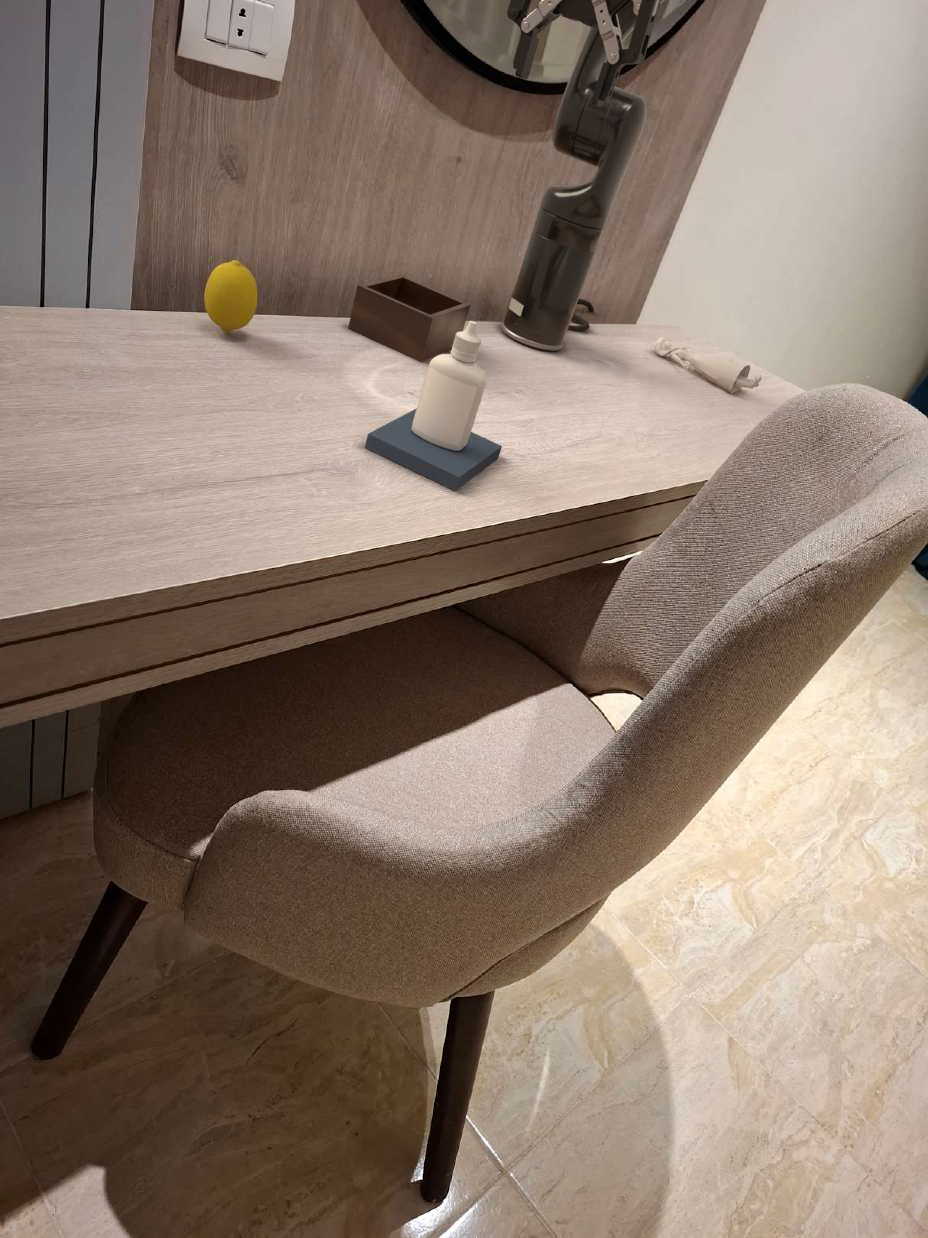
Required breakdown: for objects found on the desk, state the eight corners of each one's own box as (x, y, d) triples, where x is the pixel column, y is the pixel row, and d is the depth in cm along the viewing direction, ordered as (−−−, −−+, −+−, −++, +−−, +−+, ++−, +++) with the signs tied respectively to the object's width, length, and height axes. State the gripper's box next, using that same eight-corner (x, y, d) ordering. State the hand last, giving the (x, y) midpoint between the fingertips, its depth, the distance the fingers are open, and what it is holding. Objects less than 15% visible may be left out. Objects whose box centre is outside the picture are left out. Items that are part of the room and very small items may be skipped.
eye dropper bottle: (439, 455, 87) (475, 334, 80) (404, 427, 90) (436, 309, 83) (471, 451, 90) (509, 335, 83) (436, 424, 92) (470, 310, 86)
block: (414, 419, 96) (418, 406, 95) (497, 458, 94) (502, 445, 93) (364, 447, 87) (368, 433, 86) (455, 491, 85) (459, 477, 84)
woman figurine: (750, 375, 134) (644, 333, 141) (738, 403, 136) (634, 360, 143) (774, 366, 142) (673, 327, 149) (762, 393, 145) (664, 353, 152)
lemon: (192, 331, 98) (201, 256, 93) (212, 318, 102) (221, 246, 98) (241, 348, 98) (252, 274, 93) (258, 334, 102) (270, 263, 98)
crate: (390, 314, 122) (400, 274, 119) (458, 345, 120) (470, 304, 117) (347, 328, 113) (357, 284, 110) (420, 361, 111) (432, 318, 108)
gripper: (696, -73, 85) (630, 116, 94) (561, -117, 87) (509, 70, 96) (680, -90, 79) (611, 114, 88) (535, -137, 81) (482, 65, 90)
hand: (558, 91), depth 92 cm, fingers open, 8 cm apart
